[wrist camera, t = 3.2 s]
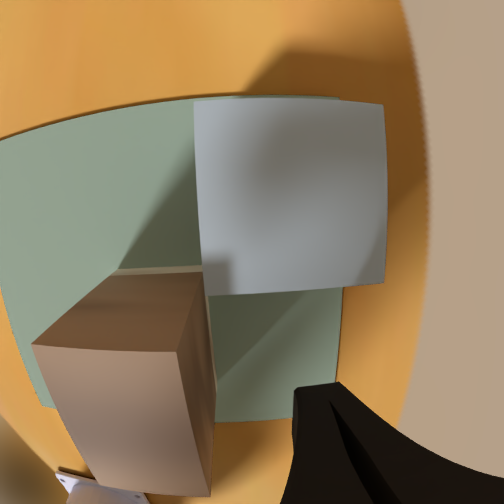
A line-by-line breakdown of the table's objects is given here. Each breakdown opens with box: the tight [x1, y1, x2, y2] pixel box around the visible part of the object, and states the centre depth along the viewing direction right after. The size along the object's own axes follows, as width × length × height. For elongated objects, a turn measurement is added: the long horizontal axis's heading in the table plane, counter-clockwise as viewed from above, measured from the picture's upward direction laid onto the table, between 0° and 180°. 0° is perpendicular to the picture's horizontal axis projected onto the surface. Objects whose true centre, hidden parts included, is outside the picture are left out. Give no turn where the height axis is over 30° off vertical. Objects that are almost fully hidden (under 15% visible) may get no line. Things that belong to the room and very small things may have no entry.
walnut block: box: [31, 265, 217, 497], centre depth 10 cm, size 6×4×7 cm, turn 2°
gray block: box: [193, 98, 388, 296], centre depth 10 cm, size 5×5×5 cm
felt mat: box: [0, 95, 343, 423], centre depth 13 cm, size 16×18×1 cm
